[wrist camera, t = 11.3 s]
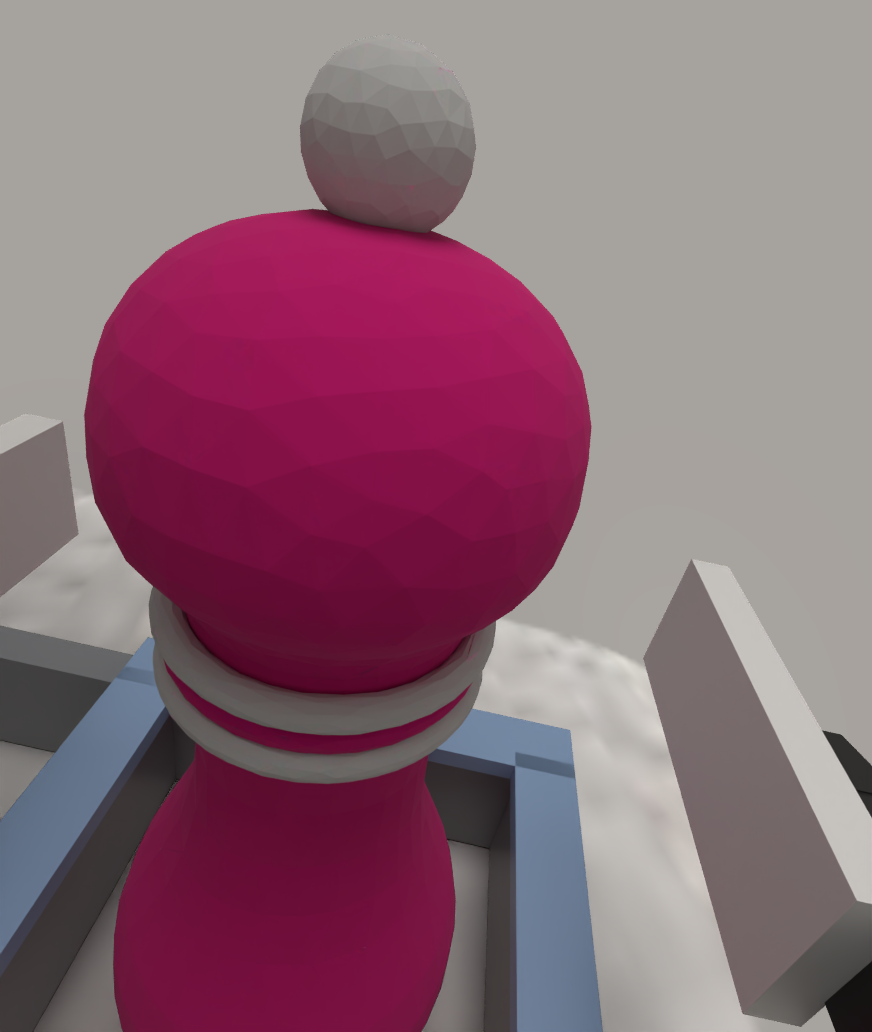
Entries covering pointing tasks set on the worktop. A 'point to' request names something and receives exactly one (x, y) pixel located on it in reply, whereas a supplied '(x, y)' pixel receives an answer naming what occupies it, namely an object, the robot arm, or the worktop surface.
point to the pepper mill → (325, 558)
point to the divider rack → (169, 753)
